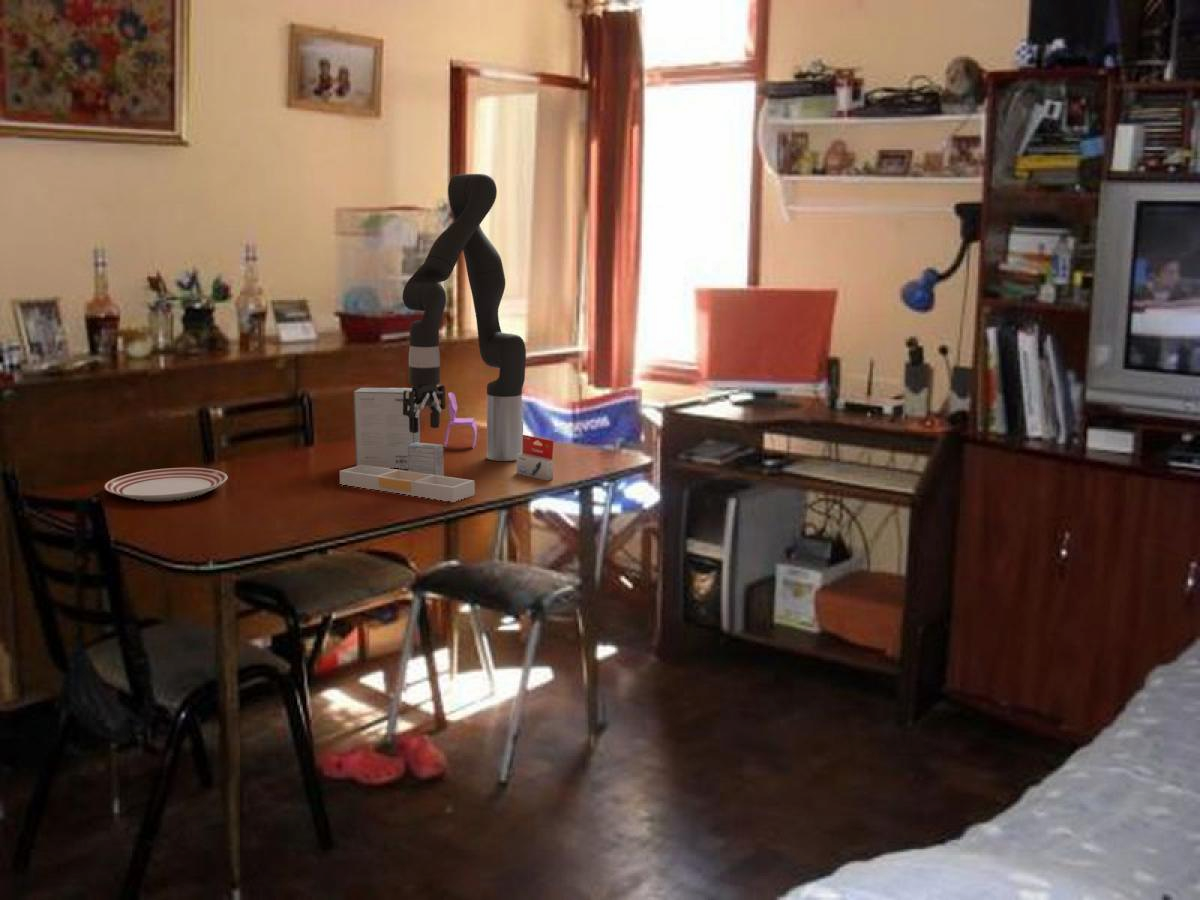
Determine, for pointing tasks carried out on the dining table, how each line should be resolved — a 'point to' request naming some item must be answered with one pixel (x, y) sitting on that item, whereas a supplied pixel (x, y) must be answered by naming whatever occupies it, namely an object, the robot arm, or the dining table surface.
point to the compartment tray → (408, 483)
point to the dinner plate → (166, 483)
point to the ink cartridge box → (536, 458)
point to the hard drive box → (382, 428)
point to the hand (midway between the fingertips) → (424, 430)
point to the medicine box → (426, 458)
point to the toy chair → (458, 419)
